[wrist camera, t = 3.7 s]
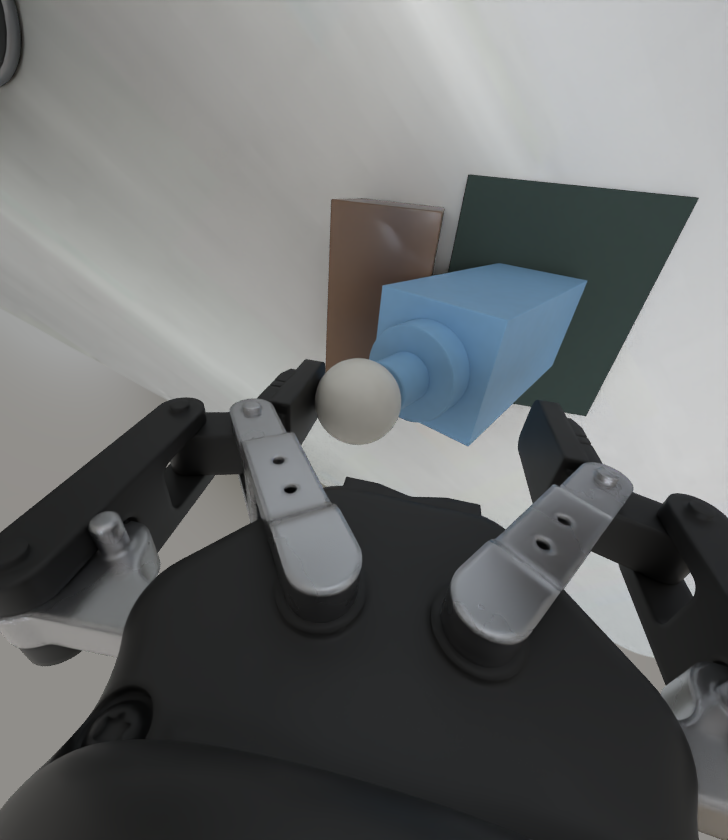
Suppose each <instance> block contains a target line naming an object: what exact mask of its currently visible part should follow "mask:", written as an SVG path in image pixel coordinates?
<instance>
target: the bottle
mask: <svg viewBox="0 0 728 840" xmlns="http://www.w3.org/2000/svg"><path fill="white" fill-rule="evenodd" d="M586 283H587V280H582V279H577V278H572V277H567V276H562V275H557V274H552V273H547V272H542V271H537V270H532V269H527V268H522V267H517V266H512V265H507V264H502V263H496V264H491V265H486V266H481V267H476V268H471V269H465V270H460V271H455V272H450V273H445V274H440V275H434V276H429V277H424V278H419V279H414V280H408V281H403V282H398V283H393V284H388V285H383V286H382V294H381V303H380V312H379V320H378V329H377V338H376V341H375V342H374V344H373V347H372V349H371V352H370V357H369V359H363V358H353V359H348V360H344V361H341V362H339V363H337V364H336V365H334V366H333V367H331V368H330V369H329V370H328V371H327V372H326V373H325V374H324V376H323V377H322V378H321V380H320V382H319V384H318V387H317V390H316V394H315V409H316V413H317V416H318V419H319V421H320V423H321V425H322V426H323V427H324V429H325V430H326V431H327V432H328V433H329V434H330V435H331V436H333V437H334V438H336V439H337V440H339V441H342V442H344V443H348V444H353V445H362V444H368V443H372V442H375V441H377V440H379V439H381V438H382V437H384V436H385V435H386V434H387V433H388V432H389V431H390V430H391V429H392V428H393V426H394V425H395V423H396V421H397V419H398V417H400V418H402V419H404V420H407V421H410V422H419V423H421V424H423V425H426V426H428V427H430V428H432V429H434V430H436V431H438V432H440V433H442V434H444V435H446V436H448V437H450V438H452V439H454V440H456V441H458V442H460V443H462V444H464V445H466V446H469V445H470V444H471V443H472V442H473V441H474V440H475V439H476V438H477V437H478V436H479V435H480V434H481V433H483V432H484V431H485V430H486V429H487V428H488V427H489V426H490V425H491V424H492V423H493V422H494V421H495V420H496V419H497V418H498V417H499V416H500V415H501V414H502V413H503V412H504V411H505V410H507V409H508V408H509V407H510V406H511V405H512V404H513V403H514V402H515V401H516V400H517V399H518V398H519V397H520V396H521V395H522V394H523V393H524V392H525V391H526V390H527V389H528V388H529V387H531V386H532V385H533V384H534V383H535V382H536V381H537V380H538V379H539V378H540V377H541V376H542V375H543V374H544V373H545V372H546V371H547V370H548V369H549V368H550V367H551V366H552V365H553V363H554V360H555V358H556V355H557V353H558V351H559V348H560V346H561V343H562V341H563V339H564V336H565V334H566V331H567V329H568V327H569V324H570V322H571V319H572V317H573V315H574V312H575V310H576V307H577V305H578V303H579V300H580V298H581V295H582V293H583V291H584V288H585V286H586Z"/></svg>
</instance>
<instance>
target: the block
mask: <svg viewBox="0 0 728 840" xmlns="http://www.w3.org/2000/svg"><path fill="white" fill-rule="evenodd" d="M443 214H444V208H443V207H434V206H425V205H416V204H408V203H399V202H390V201H381V200H372V199H363V198H357V199H332V200H331V223H330V252H329V282H328V311H327V340H326V369H325V373H326V372H327V371H328V370H329V369H330V368H331V367H333V366H334V365H336V364H337V363H339V362H341V361H344V360H348V359H353V358H363V359H369V357H370V352H371V349H372V347H373V344H374V342H375V341H376V338H377V329H378V320H379V312H380V303H381V294H382V286H383V285H388V284H393V283H398V282H403V281H408V280H414V279H419V278H424V277H429V276H432V273H433V268H434V263H435V257H436V252H437V246H438V241H439V236H440V230H441V225H442V220H443Z"/></svg>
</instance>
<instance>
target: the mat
mask: <svg viewBox="0 0 728 840" xmlns="http://www.w3.org/2000/svg"><path fill="white" fill-rule="evenodd" d="M698 199H699V198H696V197H686V196H676V195H666V194H656V193H646V192H636V191H626V190H616V189H606V188H597V187H587V186H577V185H567V184H557V183H547V182H537V181H527V180H517V179H507V178H498V177H488V176H478V175H468V180H467V184H466V189H465V194H464V199H463V204H462V208H461V213H460V218H459V223H458V228H457V232H456V237H455V242H454V247H453V252H452V256H451V261H450V266H449V271H448V273H450V272H455V271H460V270H465V269H471V268H476V267H481V266H486V265H491V264H496V263H502V264H507V265H512V266H517V267H522V268H527V269H532V270H537V271H542V272H547V273H552V274H557V275H562V276H567V277H572V278H577V279H582V280H587V283H586V286H585V288H584V291H583V293H582V295H581V298H580V300H579V303H578V305H577V307H576V310H575V312H574V315H573V317H572V319H571V322H570V324H569V327H568V329H567V331H566V334H565V336H564V339H563V341H562V343H561V346H560V348H559V351H558V353H557V355H556V358H555V360H554V363H553V365H552V366H551V367H550V368H549V369H548V370H547V371H546V372H545V373H544V374H543V375H542V376H541V377H540V378H539V379H538V380H537V381H536V382H535V383H534V384H533V385H532V386H531V387H529V388H528V389H527V390H526V391H525V392H524V393H523V394H522V395H521V396H520V397H519V398H518V399H517V400H516V401H515V402H514V403H513V404H519V405H525V406H530V407H532V405H533V403H534V401H535V400H543V401H549V402H555V403H559V404H560V406H561V408H562V410H563V412H565V413H571V414H577V415H582V416H586V415H587V413H588V411H589V409H590V407H591V405H592V403H593V402H594V400H595V398H596V396H597V394H598V392H599V390H600V388H601V386H602V384H603V382H604V380H605V378H606V376H607V374H608V373H609V371H610V369H611V367H612V365H613V363H614V361H615V359H616V357H617V355H618V353H619V351H620V349H621V347H622V345H623V344H624V342H625V340H626V338H627V336H628V334H629V332H630V330H631V328H632V326H633V324H634V322H635V320H636V318H637V316H638V315H639V313H640V311H641V309H642V307H643V305H644V303H645V301H646V299H647V297H648V295H649V293H650V291H651V289H652V288H653V286H654V284H655V282H656V280H657V278H658V276H659V274H660V272H661V270H662V268H663V266H664V264H665V262H666V260H667V259H668V257H669V255H670V253H671V251H672V249H673V247H674V245H675V243H676V241H677V239H678V237H679V235H680V233H681V231H682V230H683V228H684V226H685V224H686V222H687V220H688V218H689V216H690V214H691V212H692V210H693V208H694V206H695V204H696V202H697V201H698Z"/></svg>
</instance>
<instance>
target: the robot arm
mask: <svg viewBox="0 0 728 840" xmlns="http://www.w3.org/2000/svg"><path fill="white" fill-rule="evenodd" d="M20 46H21V37H20V26H19V19H18V14H17V9H16V5H15V2H14V0H0V86H1V85H3V84H5V83H6V82H7V81H9V80H10V78H11V77H12V76H13V74H14V72H15V70H16V68H17V65H18V61H19V56H20ZM324 374H325V363H324V362H319V361H314V360H308V359H305V360H304V361H303V362H302V364H301V365H300V366H299V367H298V368H297V369H296V370H295V369H289V370H287V371H285V372H283V373H281V374H280V375H279V376H278V377H277V378H276V379H275V381H273V382H272V383H271V384H270V386H268V387H267V388H266V389H265V390H264V391H263V392H262V394H261V395H260V396H259V397H258V398H257V399H245V400H241V401H239V402H237V403H235V404H233V405H232V406H231V408H230V412H205V408H204V404H203V402H201V401H200V400H198V399H195V398H176V399H172V400H169V401H166V402H164V403H162V404H161V405H159V406H158V407H157V408H156V409H154V410H153V411H152V412H151V413H149V414H148V415H147V416H146V417H144V418H143V419H142V420H141V421H139V422H138V423H137V424H136V425H134V426H133V427H132V428H131V429H129V430H128V431H127V432H126V433H124V434H123V435H122V436H121V437H119V438H118V439H117V440H116V441H114V442H113V443H112V444H111V445H109V446H108V447H107V448H106V449H104V450H103V451H102V452H101V453H99V454H98V455H97V456H96V457H94V458H93V459H92V460H91V461H89V462H88V463H87V464H86V465H85V466H83V467H82V468H81V469H79V470H78V471H77V472H76V473H74V474H73V475H72V476H71V477H69V478H68V479H67V480H66V481H64V482H63V483H62V484H60V485H59V486H58V487H57V488H56V489H54V490H53V491H52V492H50V493H49V494H48V495H47V496H45V497H44V498H43V499H42V500H41V501H39V502H38V503H37V504H36V505H34V506H33V507H32V508H30V509H29V510H28V511H27V512H25V513H24V514H23V515H22V516H20V517H19V518H18V519H17V520H16V521H14V522H13V523H12V524H10V525H9V526H8V527H7V528H5V529H4V530H3V531H2V532H1V533H0V632H1V634H2V635H3V636H4V637H5V638H6V639H7V640H8V641H9V642H10V643H11V644H12V645H13V646H15V647H18V648H19V649H20V650H21V651H22V652H23V653H24V654H25V656H27V658H28V659H29V660H30V661H31V662H32V663H34V664H36V665H40V666H51V665H55V664H59V663H62V662H64V661H67V660H68V659H71V658H72V657H74V656H76V655H77V654H78V653H80V652H81V651H82V650H83V651H88V652H92V653H97V654H102V655H106V656H111V657H116V658H117V660H116V663H115V666H114V669H113V671H112V674H111V677H110V679H109V681H108V683H107V686H106V688H105V690H104V692H103V694H102V696H101V698H100V700H99V702H98V703H97V705H96V707H95V708H94V710H93V711H92V713H91V714H90V715H89V717H88V718H87V720H86V721H85V722H84V723H83V724H82V725H81V727H80V728H79V729H78V730H77V731H76V732H75V733H74V734H73V736H72V737H71V738H70V739H69V740H68V741H67V742H66V743H65V744H64V745H63V746H62V747H61V749H59V750H58V751H57V753H56V754H55V755H53V756H52V757H51V759H49V761H47V762H46V763H45V764H44V765H43V766H42V767H41V768H40V769H39V770H38V771H36V772H35V773H34V774H33V775H32V776H31V777H30V778H29V779H28V780H27V781H26V782H25V783H24V784H23V785H22V786H21V787H20V788H19V789H18V790H17V791H16V792H15V793H14V794H13V795H12V796H11V797H10V798H9V800H8V801H7V802H6V804H5V805H4V806H3V807H2V808H1V810H0V840H699V838H698V831H700V832H702V833H705V834H708V835H711V836H713V837H716V838H719V839H721V840H728V518H727V517H726V516H725V515H724V514H723V513H722V512H721V511H719V510H718V509H717V508H715V507H714V506H712V505H710V504H709V503H707V502H705V501H703V500H701V499H698V498H696V497H693V496H690V495H686V494H679V493H676V494H671V495H670V496H669V497H668V498H667V499H666V500H665V502H664V503H663V504H662V503H659V502H657V501H654V500H651V499H649V498H646V497H643V496H641V495H638V494H636V493H634V492H633V484H632V483H631V481H630V480H629V479H628V478H627V477H626V476H625V475H624V474H622V473H621V472H619V471H618V470H616V469H614V468H612V467H610V466H607V465H604V464H602V462H601V460H600V458H599V457H598V455H597V453H596V452H595V450H594V448H593V446H591V443H590V441H589V439H588V438H587V436H586V434H585V432H584V431H583V429H582V427H580V426H579V425H578V424H577V423H576V422H574V421H573V420H572V419H570V418H567V417H566V415H565V413H564V412H563V410H562V408H561V406H560V404H559V403H555V402H549V401H543V400H535V401H534V403H533V405H532V407H531V409H530V412H529V414H528V416H527V419H526V421H525V424H524V426H523V429H522V431H521V434H520V437H519V441H518V451H519V455H520V458H521V462H522V466H523V469H524V473H525V477H526V480H527V484H528V488H529V491H530V495H531V499H532V502H533V504H532V505H531V506H530V507H529V508H528V509H527V510H526V511H525V512H524V513H523V514H522V515H520V516H519V517H518V518H517V519H516V520H515V521H514V522H513V523H512V524H511V525H510V526H509V527H508V528H507V529H504V528H503V527H502V526H500V525H498V524H497V523H495V522H494V521H492V520H490V519H488V518H486V517H484V516H481V508H480V505H478V504H474V503H469V502H464V501H459V500H455V499H450V498H437V497H411V496H408V495H405V494H403V493H400V492H398V491H395V490H393V489H391V488H388V487H386V486H383V485H381V484H378V483H374V482H369V481H364V480H360V479H355V478H350V477H346V479H345V482H344V485H343V486H330V487H325V488H323V487H322V485H321V483H320V481H319V479H318V477H317V475H316V473H315V472H314V470H313V468H312V466H311V464H310V462H309V460H308V458H307V456H306V454H305V452H304V450H303V448H302V447H301V445H302V443H303V441H304V440H305V438H306V436H307V435H308V433H309V431H310V430H311V428H312V426H313V424H314V423H315V421H316V419H317V418H318V416H317V413H316V409H315V394H316V390H317V387H318V384H319V382H320V380H321V378H322V377H323V376H324ZM169 462H171V464H170V465H169V466H168V467H167V468H166V466H167V464H168V463H169ZM226 474H238V475H239V480H240V484H241V488H242V492H243V495H244V499H245V503H246V507H247V510H248V515H249V519H250V524H248V525H246V526H244V527H242V528H241V529H239V530H237V531H235V532H233V533H231V534H229V535H227V536H225V537H224V538H222V539H220V540H218V541H216V542H214V543H212V544H210V545H209V546H206V547H204V548H203V549H201V550H199V551H197V552H195V553H193V554H191V555H189V556H188V557H185V558H184V559H182V560H180V561H178V562H176V563H175V564H173V565H171V566H170V567H168V568H167V569H166V570H164V571H163V572H162V573H160V574H159V575H158V573H159V570H160V559H159V556H158V552H159V550H160V549H161V548H162V546H163V545H164V543H165V542H166V541H167V540H168V538H169V537H170V536H171V534H172V533H173V532H174V530H175V529H176V527H177V526H178V525H179V523H180V522H181V521H182V519H183V518H184V517H185V515H186V514H187V513H188V511H189V510H190V508H191V507H192V506H193V505H194V503H195V502H196V500H197V499H198V498H199V496H200V495H201V494H202V492H203V491H204V490H205V488H206V487H207V485H208V484H209V483H210V482H211V480H212V479H213V478H214V476H215V475H226ZM591 551H592V552H594V553H596V554H598V555H601V556H603V557H605V558H607V559H610V560H612V561H614V562H616V563H618V564H619V567H620V570H621V573H622V575H623V578H624V580H625V583H626V585H627V588H628V590H629V593H630V596H631V598H632V601H633V603H634V606H635V608H636V611H637V613H638V616H639V619H640V621H641V624H642V626H643V629H644V631H645V634H646V636H647V639H648V641H649V644H650V647H651V649H652V652H653V654H654V657H655V659H656V662H657V664H658V667H659V669H660V672H661V674H662V677H663V680H664V682H665V685H666V686H665V687H664V688H663V690H662V692H661V694H660V693H659V692H658V690H657V689H656V688H655V687H654V686H653V685H652V684H651V683H650V681H649V680H648V679H647V678H646V677H645V676H644V675H643V674H642V673H641V672H640V671H639V669H637V667H636V666H635V665H634V664H633V663H632V662H631V661H630V660H629V659H628V658H627V657H626V656H625V655H624V653H623V652H622V651H621V650H620V649H619V648H618V647H617V646H616V645H615V644H614V643H613V642H612V641H611V640H610V638H609V637H608V636H607V635H606V634H605V633H604V632H603V631H602V630H601V629H600V628H599V627H598V626H597V625H596V624H595V622H594V621H593V620H592V619H591V618H590V617H589V616H588V615H587V614H586V613H585V612H584V611H583V610H582V609H581V607H580V606H579V605H578V604H577V603H576V602H575V601H574V600H573V599H572V598H571V597H570V596H569V595H568V594H567V593H566V591H565V590H564V588H565V587H566V585H567V584H568V583H569V581H570V580H571V578H572V577H573V576H574V574H575V573H576V571H577V570H578V569H579V567H580V566H581V564H582V563H583V562H584V560H585V559H586V557H587V556H588V554H589V553H590V552H591ZM689 573H691V574H692V576H693V578H694V581H695V586H696V589H695V594H694V597H693V596H692V594H691V592H690V590H689V588H688V587H687V585H686V583H685V581H684V578H685V577H686V576H687V575H688V574H689ZM157 575H158V576H157Z"/></svg>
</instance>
